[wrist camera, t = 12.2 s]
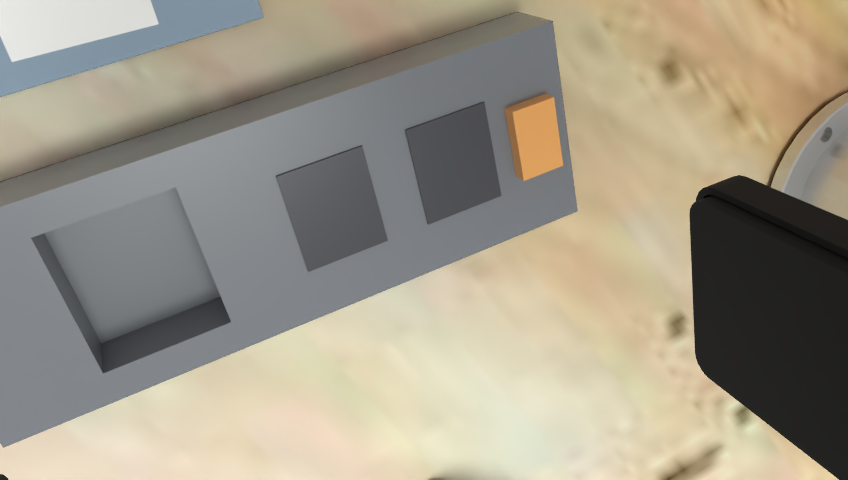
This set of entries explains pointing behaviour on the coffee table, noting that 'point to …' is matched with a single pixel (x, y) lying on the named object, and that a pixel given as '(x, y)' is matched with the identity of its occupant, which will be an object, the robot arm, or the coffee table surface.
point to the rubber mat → (128, 41)
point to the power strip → (272, 215)
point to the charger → (67, 23)
